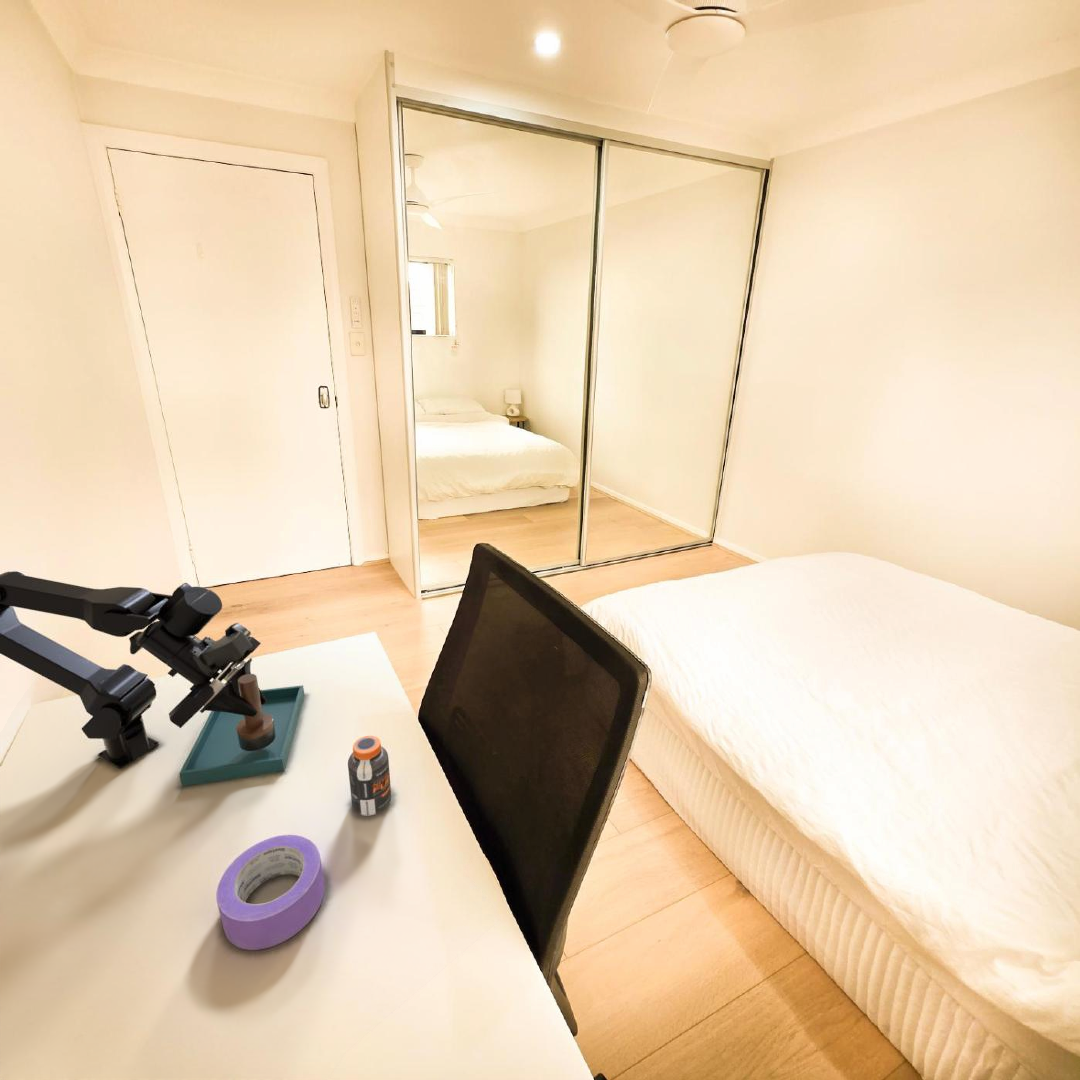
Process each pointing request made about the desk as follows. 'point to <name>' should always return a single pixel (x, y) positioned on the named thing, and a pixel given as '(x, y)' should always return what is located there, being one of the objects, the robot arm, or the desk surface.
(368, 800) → the pill bottle
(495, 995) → the desk surface
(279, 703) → the tray
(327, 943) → the desk surface
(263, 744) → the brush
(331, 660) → the desk surface
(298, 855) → the tape roll
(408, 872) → the desk surface
